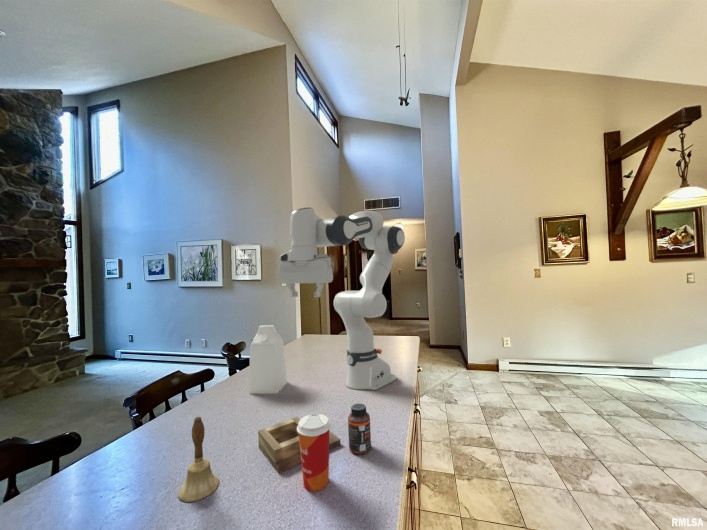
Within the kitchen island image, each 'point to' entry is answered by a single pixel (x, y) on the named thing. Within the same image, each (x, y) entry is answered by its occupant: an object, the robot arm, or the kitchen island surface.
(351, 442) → the supplement bottle
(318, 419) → the paper cup
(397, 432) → the kitchen island surface
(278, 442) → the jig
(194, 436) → the hand bell
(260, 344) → the milk
